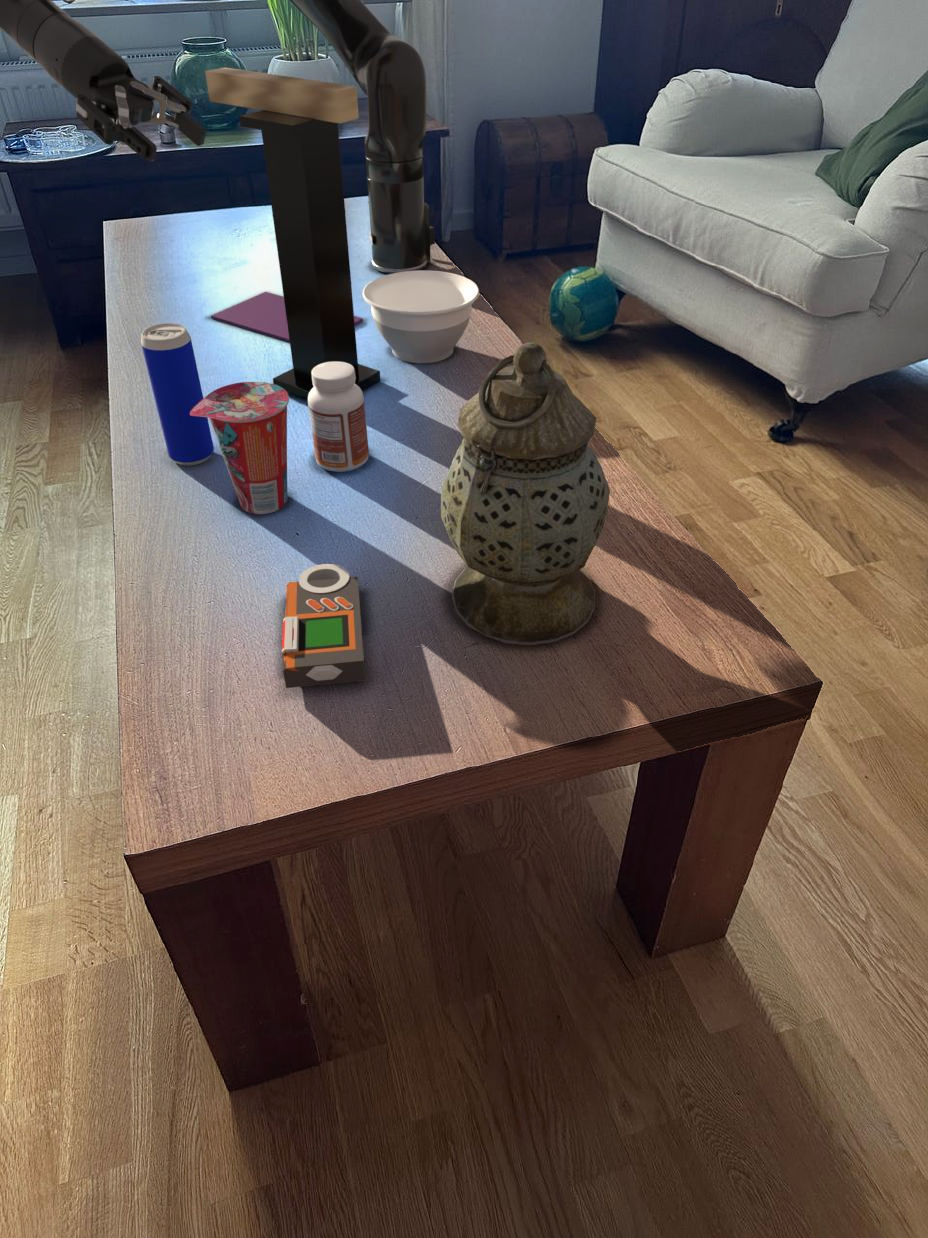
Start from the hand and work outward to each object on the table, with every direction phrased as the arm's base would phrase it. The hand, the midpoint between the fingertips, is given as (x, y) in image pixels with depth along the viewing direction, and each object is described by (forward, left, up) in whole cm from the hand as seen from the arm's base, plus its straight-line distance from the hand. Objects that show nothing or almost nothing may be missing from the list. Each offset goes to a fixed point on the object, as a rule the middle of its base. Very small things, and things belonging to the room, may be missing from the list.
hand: (179, 146), depth 111 cm
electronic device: (+28, +62, -26) cm, 73 cm away
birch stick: (-3, +20, +6) cm, 21 cm away
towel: (-12, 0, -26) cm, 29 cm away
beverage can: (+20, +26, -26) cm, 41 cm away
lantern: (+12, +71, -26) cm, 76 cm away
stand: (-3, +22, -26) cm, 34 cm away
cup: (+20, +40, -26) cm, 51 cm away
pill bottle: (+8, +39, -26) cm, 47 cm away
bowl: (-20, +23, -26) cm, 40 cm away
